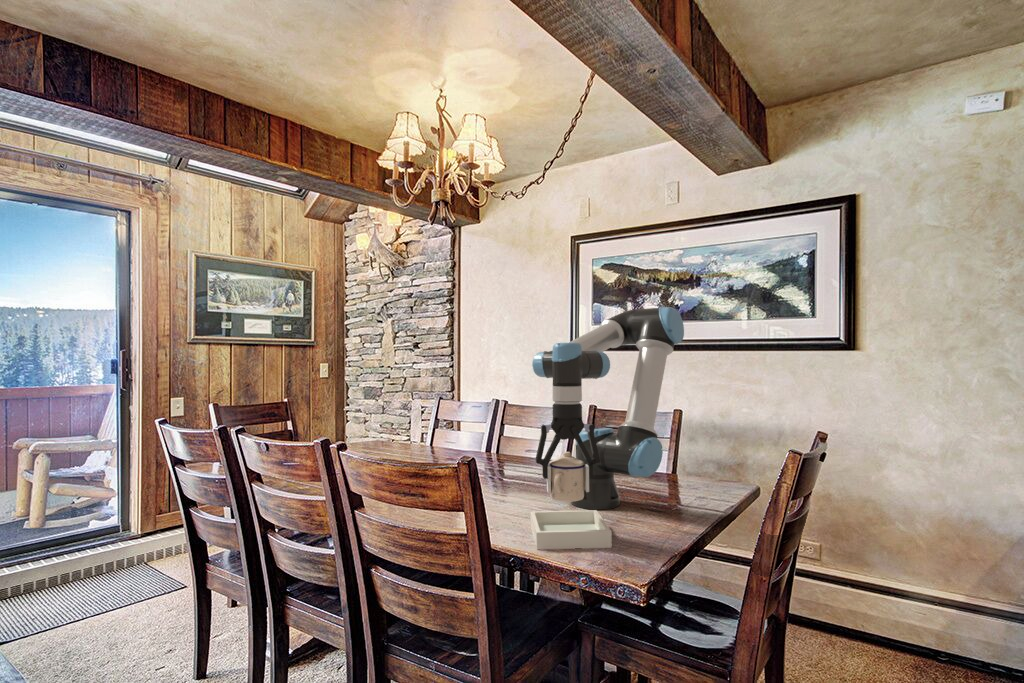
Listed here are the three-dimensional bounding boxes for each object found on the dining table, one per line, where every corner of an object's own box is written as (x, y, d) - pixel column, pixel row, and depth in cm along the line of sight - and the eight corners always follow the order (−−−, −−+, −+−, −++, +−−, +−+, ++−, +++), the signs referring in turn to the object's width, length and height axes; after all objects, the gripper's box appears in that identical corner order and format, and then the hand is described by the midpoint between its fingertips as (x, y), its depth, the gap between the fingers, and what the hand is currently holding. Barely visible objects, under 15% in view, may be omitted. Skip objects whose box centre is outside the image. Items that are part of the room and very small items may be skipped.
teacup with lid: (557, 492, 147) (557, 448, 147) (589, 495, 143) (589, 451, 143) (539, 502, 136) (539, 455, 137) (573, 506, 132) (573, 458, 132)
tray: (596, 524, 149) (596, 510, 149) (611, 547, 131) (611, 530, 131) (530, 526, 148) (530, 511, 148) (536, 549, 130) (536, 532, 130)
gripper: (605, 401, 145) (606, 487, 144) (523, 401, 144) (524, 488, 143) (612, 403, 137) (613, 494, 136) (525, 404, 136) (526, 495, 135)
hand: (567, 491), depth 139 cm, fingers closed on teacup with lid, 9 cm apart
